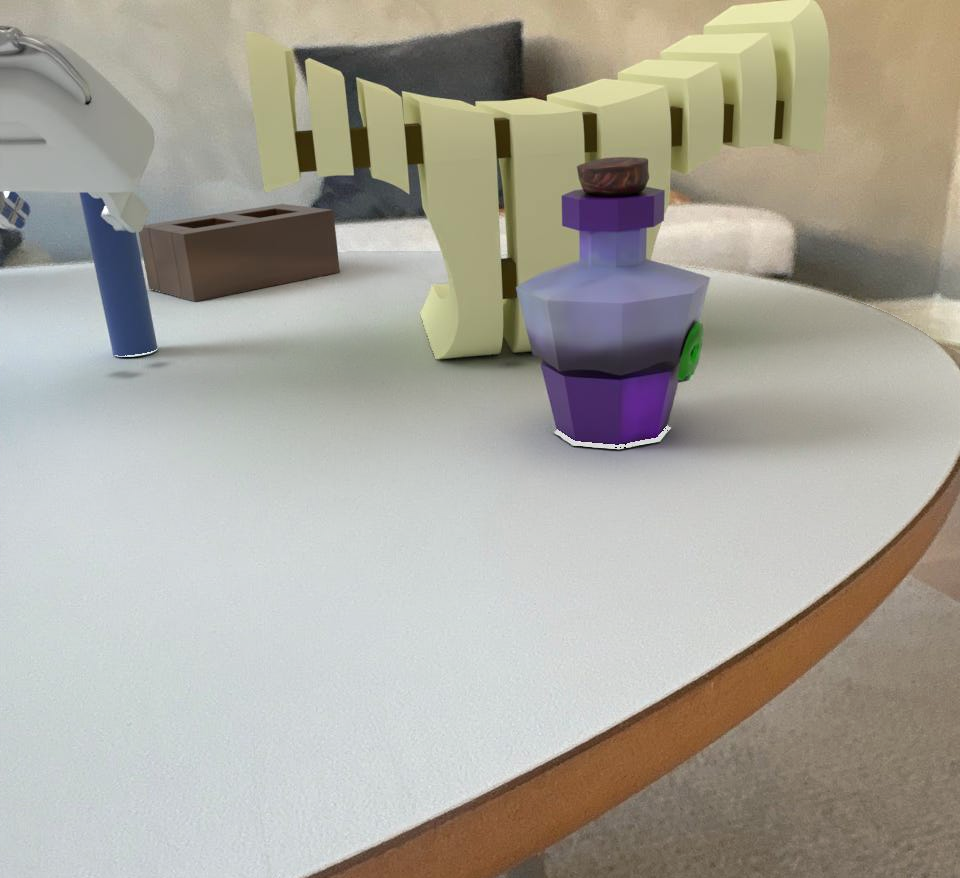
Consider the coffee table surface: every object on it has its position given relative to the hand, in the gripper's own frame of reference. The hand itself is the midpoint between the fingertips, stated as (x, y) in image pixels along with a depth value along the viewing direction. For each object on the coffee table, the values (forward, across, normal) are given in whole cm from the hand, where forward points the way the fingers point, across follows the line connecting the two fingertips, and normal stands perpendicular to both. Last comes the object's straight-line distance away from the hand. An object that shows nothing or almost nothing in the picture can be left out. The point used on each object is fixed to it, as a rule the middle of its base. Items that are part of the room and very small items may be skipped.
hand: (75, 221), depth 64 cm
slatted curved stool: (+16, -23, -4) cm, 28 cm away
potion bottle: (+4, -34, +8) cm, 36 cm away
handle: (+8, 0, +4) cm, 9 cm away
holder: (+23, +8, -11) cm, 27 cm away
